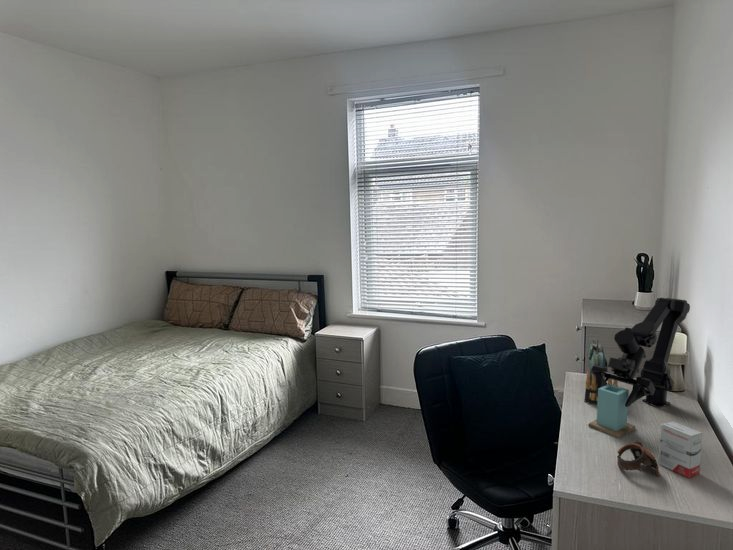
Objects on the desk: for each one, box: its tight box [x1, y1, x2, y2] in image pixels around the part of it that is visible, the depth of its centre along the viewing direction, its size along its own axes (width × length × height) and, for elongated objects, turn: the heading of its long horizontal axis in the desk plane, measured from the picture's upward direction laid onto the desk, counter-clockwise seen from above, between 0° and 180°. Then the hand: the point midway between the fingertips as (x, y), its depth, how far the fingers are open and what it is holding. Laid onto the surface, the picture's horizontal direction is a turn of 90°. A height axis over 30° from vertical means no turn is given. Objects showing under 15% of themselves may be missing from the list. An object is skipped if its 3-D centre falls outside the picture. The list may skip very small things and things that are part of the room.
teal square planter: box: [596, 383, 630, 431], centre depth 154 cm, size 6×6×12 cm
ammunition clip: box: [584, 369, 619, 405], centre depth 173 cm, size 11×2×12 cm, turn 59°
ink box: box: [657, 420, 703, 479], centre depth 130 cm, size 8×5×12 cm, turn 26°
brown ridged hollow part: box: [616, 440, 660, 478], centre depth 131 cm, size 12×10×8 cm
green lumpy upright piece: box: [587, 339, 609, 385], centre depth 183 cm, size 20×6×20 cm, turn 158°
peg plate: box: [587, 418, 636, 439], centre depth 155 cm, size 10×10×5 cm
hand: (611, 401), depth 154 cm, fingers open, 9 cm apart
